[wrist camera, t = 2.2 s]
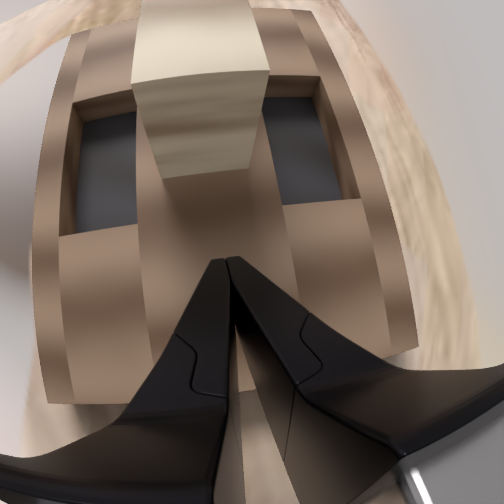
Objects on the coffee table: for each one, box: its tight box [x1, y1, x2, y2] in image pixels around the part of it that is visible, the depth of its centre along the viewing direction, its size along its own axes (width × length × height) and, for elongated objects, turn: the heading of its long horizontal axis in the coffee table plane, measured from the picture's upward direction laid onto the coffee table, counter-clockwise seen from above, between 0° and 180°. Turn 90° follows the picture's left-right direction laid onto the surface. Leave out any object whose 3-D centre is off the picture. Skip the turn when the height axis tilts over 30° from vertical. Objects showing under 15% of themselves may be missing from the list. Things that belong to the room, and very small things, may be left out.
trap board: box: [32, 8, 419, 404], centre depth 19 cm, size 29×22×3 cm
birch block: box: [131, 0, 270, 179], centre depth 15 cm, size 10×5×8 cm, turn 9°
